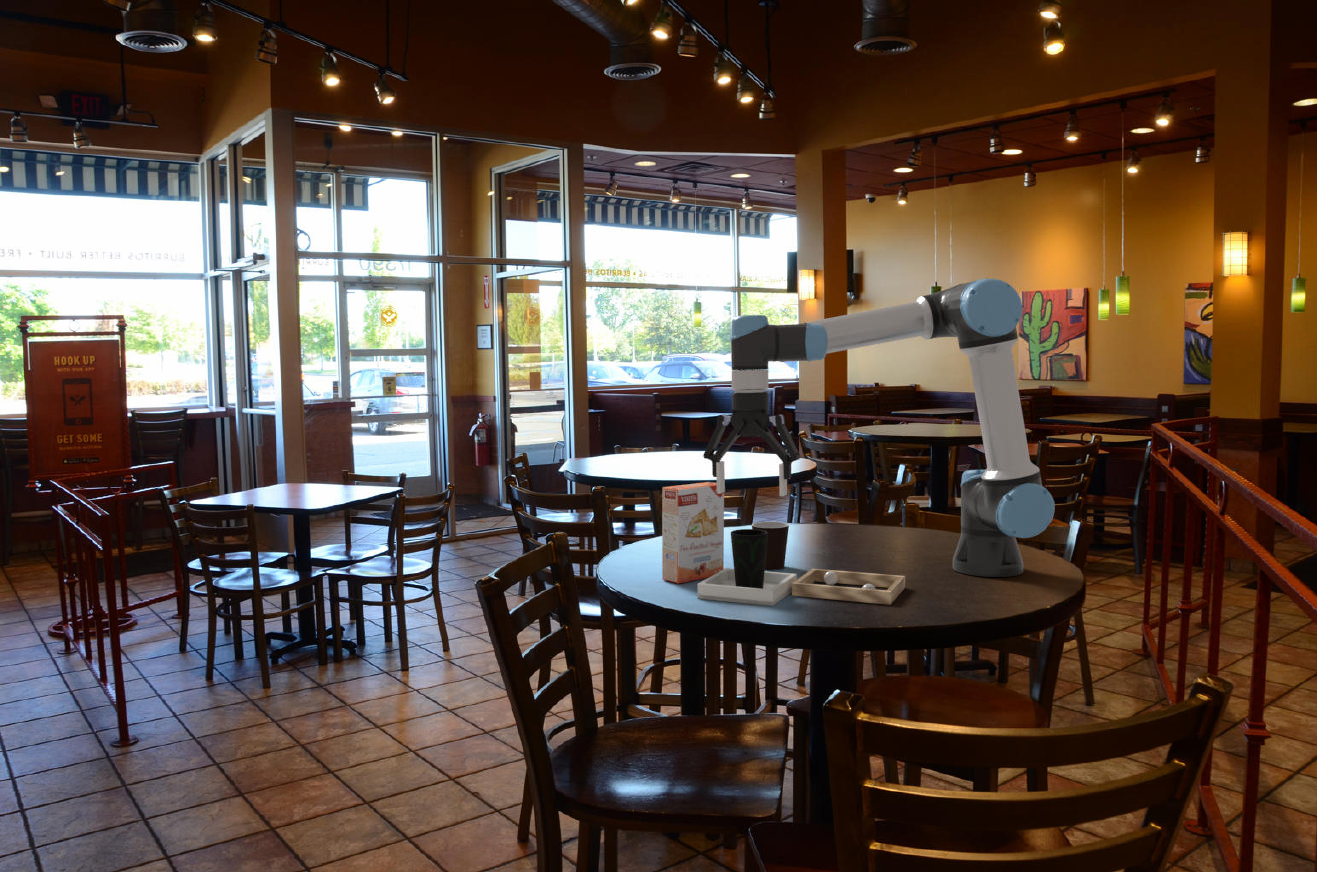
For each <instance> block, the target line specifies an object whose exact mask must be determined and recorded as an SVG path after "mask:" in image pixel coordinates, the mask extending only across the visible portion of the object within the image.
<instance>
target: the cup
mask: <svg viewBox="0 0 1317 872" xmlns="http://www.w3.org/2000/svg"><path fill="white" fill-rule="evenodd" d="M767 538H768V532H767V531H764V530H758V529H752V528H744V529H743V528H741V529H735V530H732V531H731V532H730V541H731V542H730V543H731V552H732V553H731V554H732V561H733V569H734V573H735V583H736V586H738V587H749V588H760V589H763V584H764V572H765V571H766V570H765V561H766V549H767Z"/></svg>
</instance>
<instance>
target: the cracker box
mask: <svg viewBox="0 0 1317 872" xmlns="http://www.w3.org/2000/svg"><path fill="white" fill-rule="evenodd" d="M661 498H662V499H661V504H662V506H661V507H662V508H661V510H662V512H661V513H662V514H661V519H662V520H661V521H662V522H661V523H662V525H661V526H662V528H661V529H662V530H661V531H662V532H661V533H662V535H661V536H662V537H661V539H662V540H661V541H662V545H661V546H662V555H661V557H662V558H661V560H662V562H661V563H662V580H663V581H667V582H670V583H674V584H683V583H688V582H689V583H690V582H693V581H697V580H705V579H707V578H709V577H711V576H713V575H714V574H716V573H718V572H720V571H722V570H723V569H725V568H724V565H725V564H724V563H725V561H724V559H725V558H724V555H725V554H724V553H725V551H724V550H725V549H724V545H725V544H724V543H725V539H724V538H725V537H724V536H725V531H724V529H725V492H723V493H721V494H717V482H710V481H705V482H696V483H690V484H681V485H678V484H677V485H671V486H662V490H661Z"/></svg>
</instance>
